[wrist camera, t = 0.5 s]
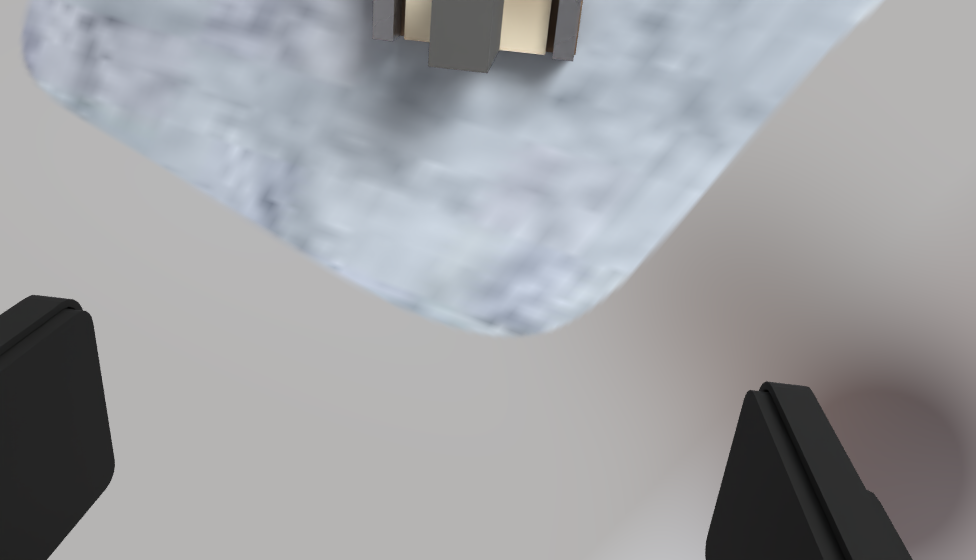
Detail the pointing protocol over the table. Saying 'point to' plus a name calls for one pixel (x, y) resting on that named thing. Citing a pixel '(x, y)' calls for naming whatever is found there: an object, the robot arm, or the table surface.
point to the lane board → (559, 39)
